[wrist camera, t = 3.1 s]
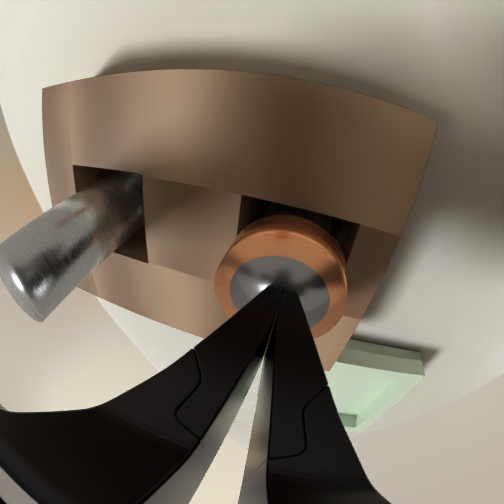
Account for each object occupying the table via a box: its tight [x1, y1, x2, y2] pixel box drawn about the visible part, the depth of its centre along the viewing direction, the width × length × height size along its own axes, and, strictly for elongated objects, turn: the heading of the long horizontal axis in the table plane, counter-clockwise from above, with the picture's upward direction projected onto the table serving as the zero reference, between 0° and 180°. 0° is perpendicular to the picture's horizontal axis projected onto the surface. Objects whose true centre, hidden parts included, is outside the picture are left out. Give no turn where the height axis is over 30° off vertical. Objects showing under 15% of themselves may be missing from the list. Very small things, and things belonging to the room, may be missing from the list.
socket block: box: [42, 69, 438, 371], centre depth 12 cm, size 16×12×4 cm
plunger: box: [214, 202, 347, 339], centre depth 10 cm, size 4×4×5 cm
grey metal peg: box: [0, 170, 145, 322], centre depth 10 cm, size 3×3×9 cm
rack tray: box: [252, 339, 425, 433], centre depth 18 cm, size 10×10×2 cm
